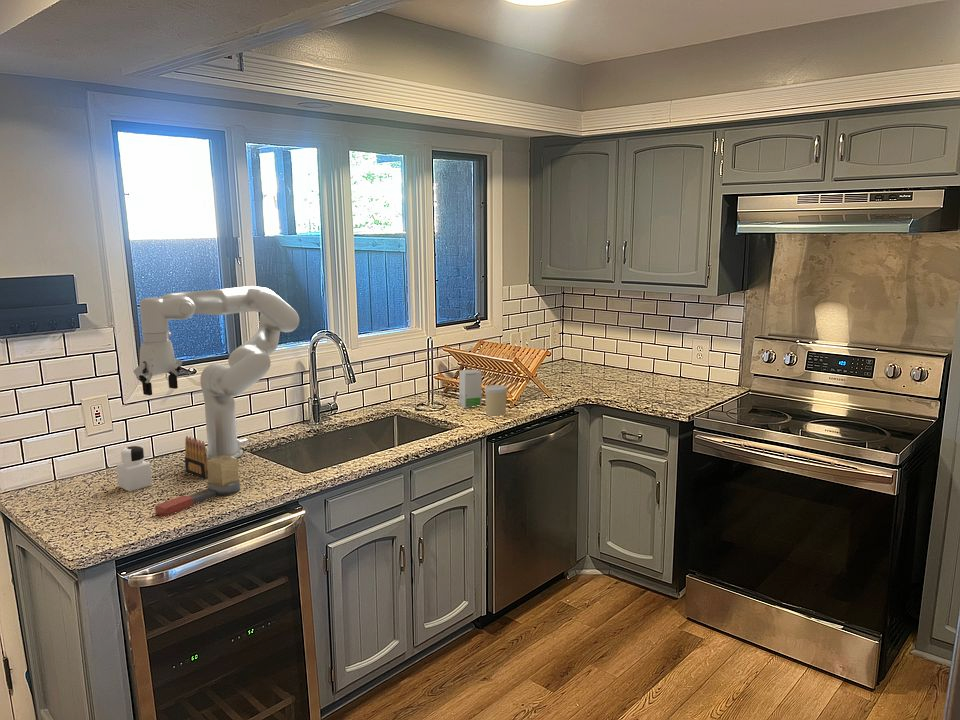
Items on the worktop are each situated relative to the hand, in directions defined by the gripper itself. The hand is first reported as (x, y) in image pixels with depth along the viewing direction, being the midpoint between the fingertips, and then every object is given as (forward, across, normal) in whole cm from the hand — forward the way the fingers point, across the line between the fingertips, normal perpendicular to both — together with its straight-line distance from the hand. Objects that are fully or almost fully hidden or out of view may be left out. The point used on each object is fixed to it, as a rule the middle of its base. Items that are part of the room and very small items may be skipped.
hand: (160, 391), depth 228 cm
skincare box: (+27, -115, +51) cm, 129 cm away
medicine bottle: (+26, +14, +3) cm, 30 cm away
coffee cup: (+27, -106, +67) cm, 128 cm away
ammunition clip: (+26, -1, +12) cm, 29 cm away
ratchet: (+26, +14, +29) cm, 41 cm away
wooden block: (+23, +5, +30) cm, 38 cm away
